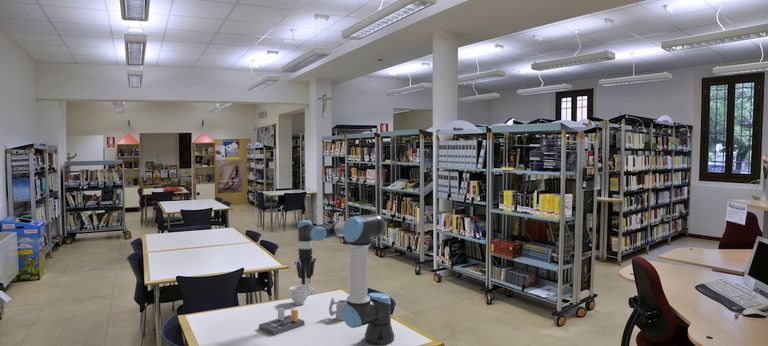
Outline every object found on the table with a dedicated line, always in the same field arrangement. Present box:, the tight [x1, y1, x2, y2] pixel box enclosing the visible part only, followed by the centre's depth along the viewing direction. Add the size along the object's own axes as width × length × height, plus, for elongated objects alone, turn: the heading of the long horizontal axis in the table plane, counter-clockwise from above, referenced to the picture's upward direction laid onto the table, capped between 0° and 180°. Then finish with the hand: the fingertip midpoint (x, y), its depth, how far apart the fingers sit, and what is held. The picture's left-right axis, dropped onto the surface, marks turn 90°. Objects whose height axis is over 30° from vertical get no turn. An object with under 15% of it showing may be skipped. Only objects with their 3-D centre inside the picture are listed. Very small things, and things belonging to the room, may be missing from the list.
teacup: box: [289, 284, 314, 306], centre depth 297 cm, size 12×15×10 cm
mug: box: [328, 297, 347, 322], centre depth 270 cm, size 8×12×12 cm, turn 83°
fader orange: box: [290, 308, 299, 322], centre depth 259 cm, size 4×2×6 cm, turn 47°
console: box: [258, 314, 305, 337], centre depth 257 cm, size 14×20×3 cm
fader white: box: [277, 307, 285, 321], centre depth 261 cm, size 4×2×6 cm, turn 47°
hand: (305, 289), depth 264 cm, fingers closed
